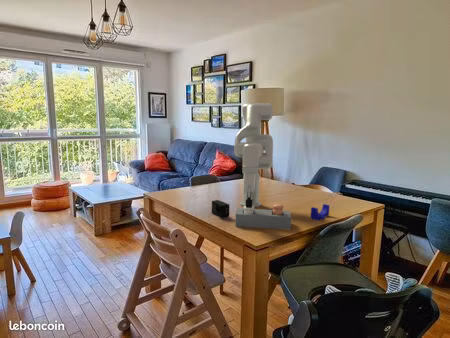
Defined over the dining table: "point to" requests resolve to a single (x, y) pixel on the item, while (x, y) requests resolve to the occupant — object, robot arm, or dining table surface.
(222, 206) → the digital camera
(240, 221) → the block
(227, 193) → the dining table surface
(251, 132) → the robot arm
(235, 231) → the dining table surface
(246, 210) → the plug
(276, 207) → the terracotta plug
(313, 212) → the blue curved block
